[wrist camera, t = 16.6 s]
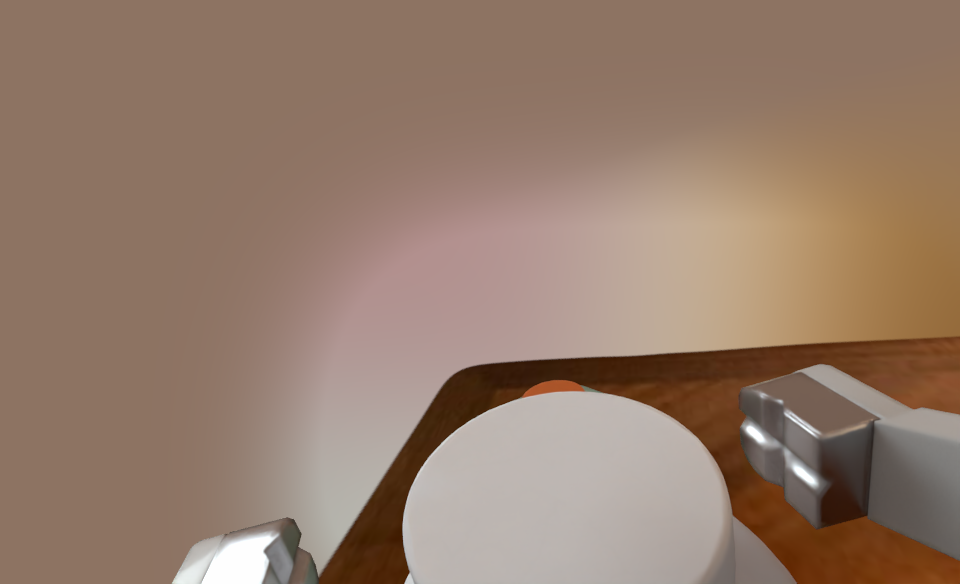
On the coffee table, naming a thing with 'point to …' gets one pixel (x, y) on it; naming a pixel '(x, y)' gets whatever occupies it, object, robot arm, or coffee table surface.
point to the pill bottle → (577, 501)
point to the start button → (553, 388)
